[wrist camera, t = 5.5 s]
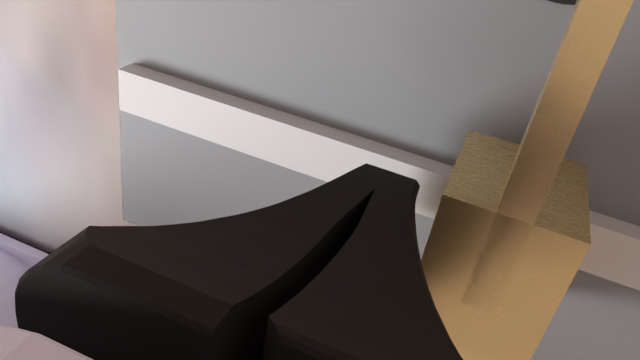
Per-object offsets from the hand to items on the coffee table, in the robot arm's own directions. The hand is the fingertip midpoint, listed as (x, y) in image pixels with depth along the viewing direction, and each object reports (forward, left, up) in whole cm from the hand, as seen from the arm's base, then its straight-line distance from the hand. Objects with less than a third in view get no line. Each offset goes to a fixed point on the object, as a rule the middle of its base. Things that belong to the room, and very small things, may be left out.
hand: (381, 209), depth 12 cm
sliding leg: (+2, +2, -1) cm, 4 cm away
